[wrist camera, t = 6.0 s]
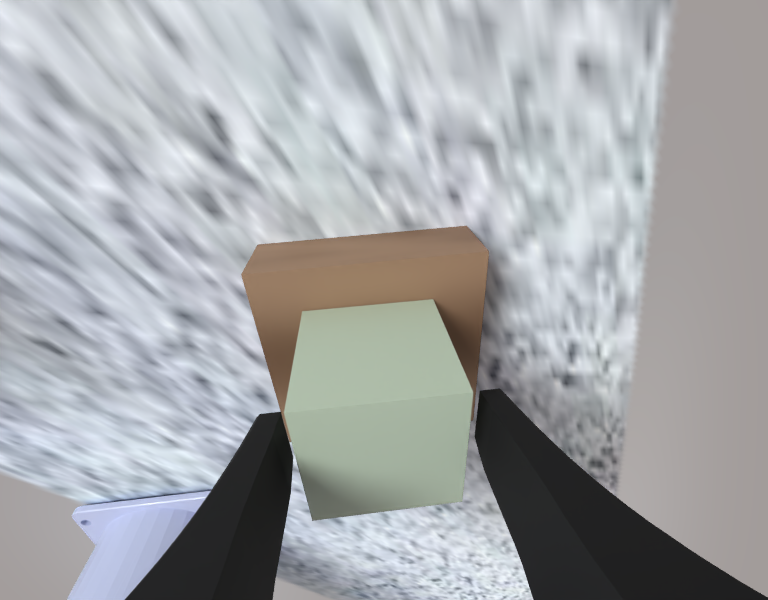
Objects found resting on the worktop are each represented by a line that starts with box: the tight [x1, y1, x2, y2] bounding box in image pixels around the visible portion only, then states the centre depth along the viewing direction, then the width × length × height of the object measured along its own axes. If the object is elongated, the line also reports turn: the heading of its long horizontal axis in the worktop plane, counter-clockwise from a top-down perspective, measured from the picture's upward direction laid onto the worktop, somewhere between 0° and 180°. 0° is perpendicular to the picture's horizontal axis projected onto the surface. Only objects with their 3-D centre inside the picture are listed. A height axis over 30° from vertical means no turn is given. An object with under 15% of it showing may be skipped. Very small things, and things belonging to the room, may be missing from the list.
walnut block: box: [241, 226, 489, 442], centre depth 15 cm, size 8×8×3 cm
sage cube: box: [284, 299, 473, 521], centre depth 12 cm, size 4×4×4 cm
